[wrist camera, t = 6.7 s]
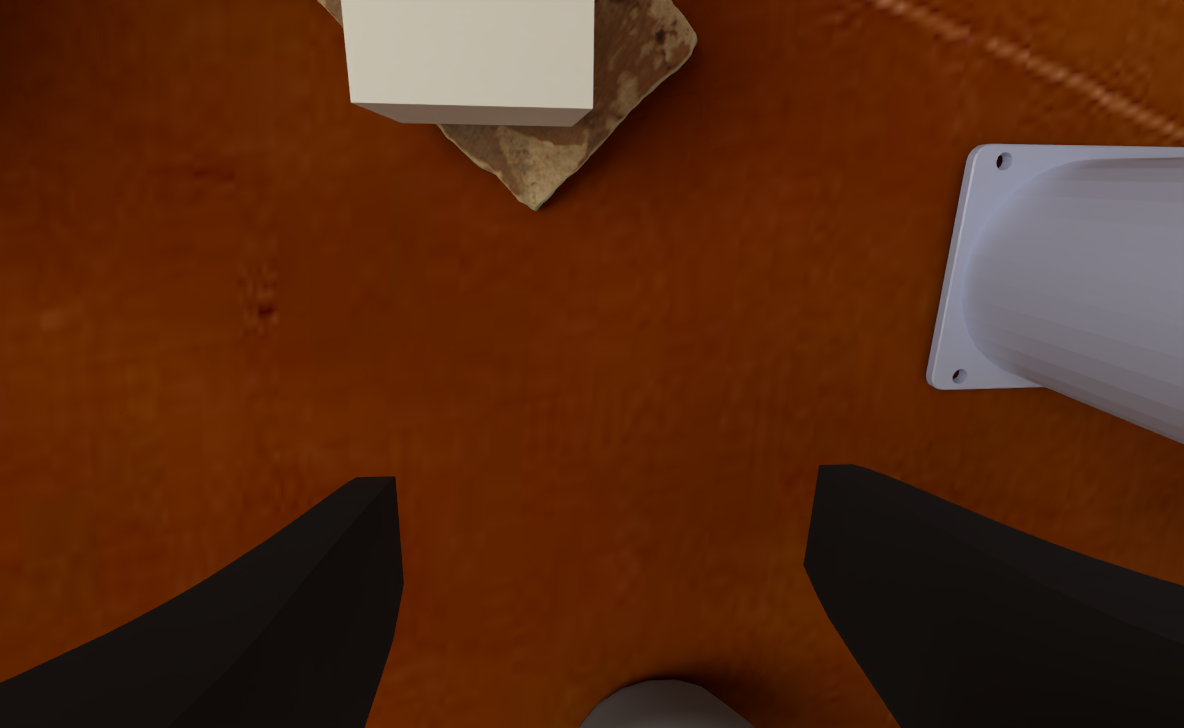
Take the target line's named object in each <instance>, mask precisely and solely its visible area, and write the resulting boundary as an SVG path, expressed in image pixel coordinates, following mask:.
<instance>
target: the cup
mask: <svg viewBox="0 0 1184 728" xmlns="http://www.w3.org/2000/svg"><path fill="white" fill-rule="evenodd" d="M579 728H755V727H754V726H753V725H752V724H750V723H749V722H748V721H747V720H745V719H744V718H743V717H741V716H740V715H739V714H738V713H736V712H735V711H734V710H733V709H731V708H730V707H729V706H727V705H726V704H725V703H723V702H722V701H721V700H719V699H718V698H717V697H715V696H714V695H712V694H711V693H710V692H708V691H707V690H706V689H704V688H703V687H701V686H698V685H694V684H691V683H687V682H683V681H680V680H649V681H644V682H641V683H638V684H635V685H632V686H629V687H626V688H623V689H620V690H618V691H617V692H615V693H614V694H612V695H611V696H609V697H608V698H606V699H605V700H603V701H602V702H600V703H599V704H597V705H596V706H595V708H594V709H593V710H592V711H591V713H590V714H589V715H588V717H587V718H586V719H585V720H584V722H583V723H582V724H581V725H580V727H579Z"/></svg>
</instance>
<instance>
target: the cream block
mask: <svg viewBox="0 0 1184 728" xmlns="http://www.w3.org/2000/svg"><path fill="white" fill-rule="evenodd" d="M341 7H342V17H343V27H344V37H345V47H346V57H347V67H348V77H349V87H350V97H351V103H354V104H356V105H358V106H361V107H363V108H366V109H368V110H371V111H373V112H376V113H378V114H381V115H383V116H386V117H388V118H391V119H393V120H396V121H398V122H400V123H428V124H473V125H518V126H563V127H572V126H573V125H574V124H576V123H577V122H578V121H579V120H580V119H581V118H583V117H584V116H585V115H586V114H587V113H589V112H590V111H591V110H592V109H593V65H594V0H341Z"/></svg>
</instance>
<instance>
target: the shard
mask: <svg viewBox="0 0 1184 728" xmlns="http://www.w3.org/2000/svg"><path fill="white" fill-rule="evenodd" d="M318 1H319V2H320V3H321V4H322V5H323V6H324V7H325V8H326V9H327V10H328V12H329V13H330V14H331V15H332V16H333V17H334V18H335V19H336V21H337V22H338V23H339V24H340V25H341V26H342V27H343V17H342V7H341V0H318ZM343 28H344V27H343ZM696 43H697V37H696V33H695V32H694V30H693V29H692V27H691V26H690V24H689V23H688V22H687V20H686V18H685V17H684V16H683V14H682V13H681V12H680V11H679V9H678V8H676V7H675V6H674V5H673V3H672V1H671V0H594V65H593V109H592V110H591V111H590V112H589V113H587V114H586V115H585V116H584V117H583V118H581V119H580V120H579V121H578V122H577V123H576V124H574V125H573V126H572V127H563V126H518V125H473V124H436V125H437V126H438V127H439V128H440V129H441V131H442V132H443V133H444V135H445V136H446V138H448V139H449V140H451V141H453V142H454V143H455V144H456V145H457V146H458V147H459V148H460V149H461V151H462V152H464V153H465V154H466V155H467V156H468V157H469V158H470V159H471V160H472V161H473V162H474V163H476V164H477V165H478V166H479V167H480V168H482V169H485V170H487V171H490V172H492V173H493V174H495V175H497V177H498V178H499V179H500V180H501V181H502V182H503V183H504V184H505V185H506V187H507V188H508V189H509V190H510V191H511V192H512V193H513V194H514V196H515V197H516V198H517V199H518V201H520V202H522V203H524V204H526V205H528V207H530V208H531V209H533V210H534V211H535V210H538V209H539V207H540V206H541V205H542V204H543V203H544V202H545V201H546V200H548V199H549V198H550V197H551V196H552V195H553V193H554V192H555V190H556V189H557V188H558V187H559V186H560V185H561V184H562V183H563V182H564V181H565V180H566V179H567V178H568V177H569V176H571V175H572V174H573V173H575V172H576V171H578V170H579V169H580V167H581V166H582V165H583V164H584V163H585V162H586V161H587V160H588V158H589V157H590V156H591V155H592V154H593V153H594V152H595V151H596V150H597V149H598V148H599V147H600V146H601V145H602V144H603V142H604V141H605V140H606V139H607V138H608V137H609V136H610V134H611V133H612V132H613V131H614V130H615V128H616V127H617V126H618V125H619V124H620V123H621V122H622V121H623V120H624V119H625V117H626V116H627V115H628V113H629V112H630V111H631V110H632V109H633V108H635V107H636V106H637V105H638V104H639V103H640V102H641V100H642V99H643V98H644V97H646V96H647V95H648V94H649V93H651V92H652V91H653V90H654V89H655V88H656V87H657V86H658V85H659V84H660V83H661V82H662V81H664V80H665V79H666V78H667V77H669V76H670V75H671V74H673V73H675V72H676V71H677V70H678V69H679V68H680V67H681V66H682V65H683V64H684V63H685V62H686V61H687V60H688V58H689V57H690V56H691V54H692V51H693V48H694V47H695V45H696Z"/></svg>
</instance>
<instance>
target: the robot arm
mask: <svg viewBox="0 0 1184 728" xmlns="http://www.w3.org/2000/svg"><path fill="white" fill-rule="evenodd" d="M1000 155H1001V156H1002V157H1003V162H1002V164H1001V166H1000V167H999V168H998V167H997V166H996V161H997V159H998V157H999V156H1000ZM957 370H959V374H958V376H957V377H956V378H955V379H953V375H954V373H955V372H956V371H957ZM926 380H927V382H928V384H930V385H931V386H933V387H935V388H936V389H940V390H959V389H992V388H1025V387H1046V388H1048V389H1051V390H1053V391H1056V392H1058V393H1061V394H1063V395H1065V396H1068V397H1070V398H1073V399H1075V400H1078V401H1080V402H1082V403H1085V404H1087V405H1090V406H1092V407H1095V408H1097V409H1099V410H1102V411H1104V412H1107V413H1109V414H1112V415H1114V416H1116V417H1119V418H1121V419H1124V420H1126V421H1129V422H1131V423H1133V424H1136V425H1138V426H1141V427H1143V428H1146V429H1148V430H1150V431H1153V432H1155V433H1158V434H1160V435H1163V436H1165V437H1167V438H1170V439H1172V440H1175V441H1177V442H1179V443H1182V444H1184V147H1139V146H1081V145H1024V144H984V145H979V146H977V147H976V148H974V149H973V150H972V151H971V152H970V154H969V155H968V158H967V161H966V166H965V171H964V176H963V182H962V187H961V192H960V198H959V203H958V208H957V213H956V219H955V224H954V229H953V235H952V240H951V245H950V250H949V256H948V261H947V266H946V272H945V277H944V282H943V288H942V293H941V298H940V303H939V309H938V314H937V319H936V325H935V330H934V335H933V341H932V346H931V351H930V356H929V362H928V367H927V372H926ZM804 567H805V570H806V572H807V574H808V576H809V578H810V581H811V583H812V585H813V587H814V589H815V592H816V594H817V596H818V598H819V600H820V602H821V604H822V606H823V608H824V610H825V612H826V614H827V616H828V618H829V619H830V621H831V622H832V624H833V625H834V627H835V629H836V630H837V632H838V633H839V635H840V636H841V638H842V639H843V641H844V643H845V644H846V646H847V647H848V649H849V650H850V652H851V653H852V655H853V656H854V658H855V659H856V661H857V662H858V664H859V665H860V667H861V668H862V670H863V671H864V673H865V674H866V676H867V677H868V679H869V680H870V682H871V683H872V685H873V686H874V688H875V689H876V691H877V692H878V694H879V695H880V697H881V698H882V700H883V701H884V703H885V704H886V706H887V707H888V709H889V710H890V712H891V713H892V715H893V716H894V718H895V719H896V721H897V722H898V724H899V725H900V727H901V728H1184V586H1181V585H1178V584H1175V583H1171V582H1168V581H1164V580H1161V579H1158V578H1154V577H1151V576H1148V575H1144V574H1141V573H1138V572H1135V571H1132V570H1129V569H1126V568H1123V567H1120V566H1117V565H1114V564H1111V563H1107V562H1104V561H1101V560H1098V559H1095V558H1092V557H1089V556H1086V555H1083V554H1080V553H1078V552H1075V551H1072V550H1069V549H1066V548H1064V547H1061V546H1058V545H1055V544H1053V543H1050V542H1048V541H1045V540H1042V539H1040V538H1037V537H1035V536H1032V535H1029V534H1027V533H1024V532H1022V531H1019V530H1016V529H1014V528H1011V527H1009V526H1006V525H1004V524H1001V523H999V522H996V521H994V520H991V519H989V518H987V517H984V516H982V515H979V514H977V513H975V512H972V511H970V510H967V509H965V508H963V507H960V506H958V505H956V504H953V503H951V502H949V501H946V500H944V499H942V498H939V497H937V496H935V495H932V494H930V493H927V492H925V491H923V490H920V489H918V488H916V487H913V486H911V485H909V484H906V483H904V482H901V481H899V480H896V479H894V478H891V477H889V476H886V475H884V474H881V473H878V472H876V471H873V470H870V469H867V468H864V467H860V466H857V465H853V464H847V465H819V471H818V477H817V483H816V490H815V496H814V502H813V509H812V515H811V522H810V528H809V534H808V541H807V547H806V553H805V560H804ZM403 585H404V580H403V568H402V555H401V542H400V530H399V517H398V504H397V491H396V479H395V476H392V477H356V478H355V479H353V480H351V481H349V482H348V483H346V484H345V485H343V486H342V487H340V488H339V489H338V490H336V491H335V492H333V493H332V494H331V495H329V496H328V497H326V498H325V499H324V500H322V501H321V502H320V503H318V504H317V505H315V506H314V507H313V508H311V509H310V510H309V511H307V512H306V513H304V514H303V515H301V516H300V517H299V518H297V519H296V520H294V521H293V522H292V523H290V524H289V525H287V526H286V527H285V528H283V529H282V530H280V531H279V532H278V533H276V534H275V535H273V536H272V537H270V538H269V539H268V540H266V541H264V542H263V543H261V544H260V545H258V546H257V547H255V548H254V549H252V550H251V551H249V552H247V553H246V554H244V555H243V556H241V557H240V558H238V559H237V560H235V561H234V562H232V563H230V564H229V565H227V566H226V567H224V568H223V569H221V570H220V571H218V572H217V573H215V574H213V575H212V576H210V577H209V578H207V579H205V580H204V581H202V582H200V583H199V584H197V585H195V586H194V587H192V588H190V589H189V590H187V591H185V592H183V593H182V594H180V595H178V596H176V597H175V598H173V599H171V600H169V601H168V602H166V603H164V604H162V605H160V606H158V607H156V608H155V609H153V610H151V611H149V612H147V613H145V614H143V615H142V616H140V617H138V618H136V619H134V620H132V621H130V622H129V623H127V624H125V625H123V626H121V627H119V628H117V629H115V630H113V631H111V632H109V633H107V634H105V635H103V636H100V637H98V638H96V639H94V640H92V641H90V642H88V643H86V644H83V645H81V646H79V647H77V648H75V649H73V650H71V651H68V652H66V653H64V654H62V655H60V656H58V657H56V658H53V659H51V660H49V661H47V662H45V663H43V664H41V665H39V666H36V667H34V668H32V669H30V670H28V671H26V672H24V673H21V674H19V675H17V676H15V677H13V678H10V679H8V680H6V681H4V682H1V683H0V728H365V725H366V722H367V719H368V716H369V713H370V709H371V706H372V703H373V700H374V697H375V694H376V691H377V688H378V685H379V682H380V679H381V676H382V673H383V670H384V667H385V664H386V661H387V658H388V654H389V651H390V648H391V645H392V642H393V637H394V632H395V627H396V622H397V617H398V612H399V607H400V601H401V596H402V591H403Z"/></svg>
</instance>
